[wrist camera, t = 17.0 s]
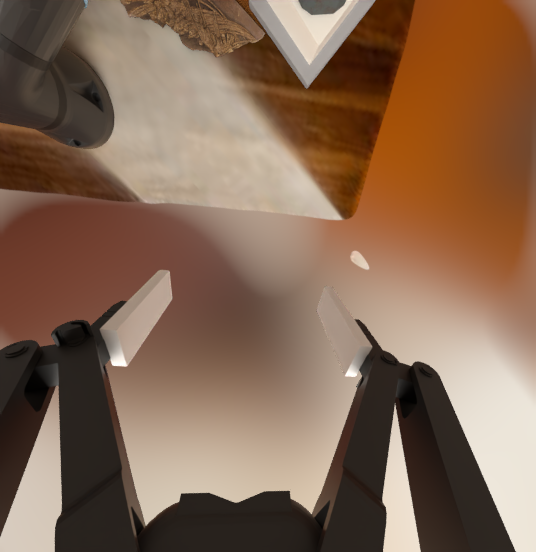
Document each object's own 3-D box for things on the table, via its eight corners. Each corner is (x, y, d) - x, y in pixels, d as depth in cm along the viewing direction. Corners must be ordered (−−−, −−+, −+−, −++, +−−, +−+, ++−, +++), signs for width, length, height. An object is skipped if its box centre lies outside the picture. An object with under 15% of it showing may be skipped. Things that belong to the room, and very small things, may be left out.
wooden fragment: (104, 3, 32) (100, -2, 31) (105, -105, 27) (100, -115, 26) (251, 83, 37) (251, 80, 36) (272, 3, 33) (272, -2, 32)
